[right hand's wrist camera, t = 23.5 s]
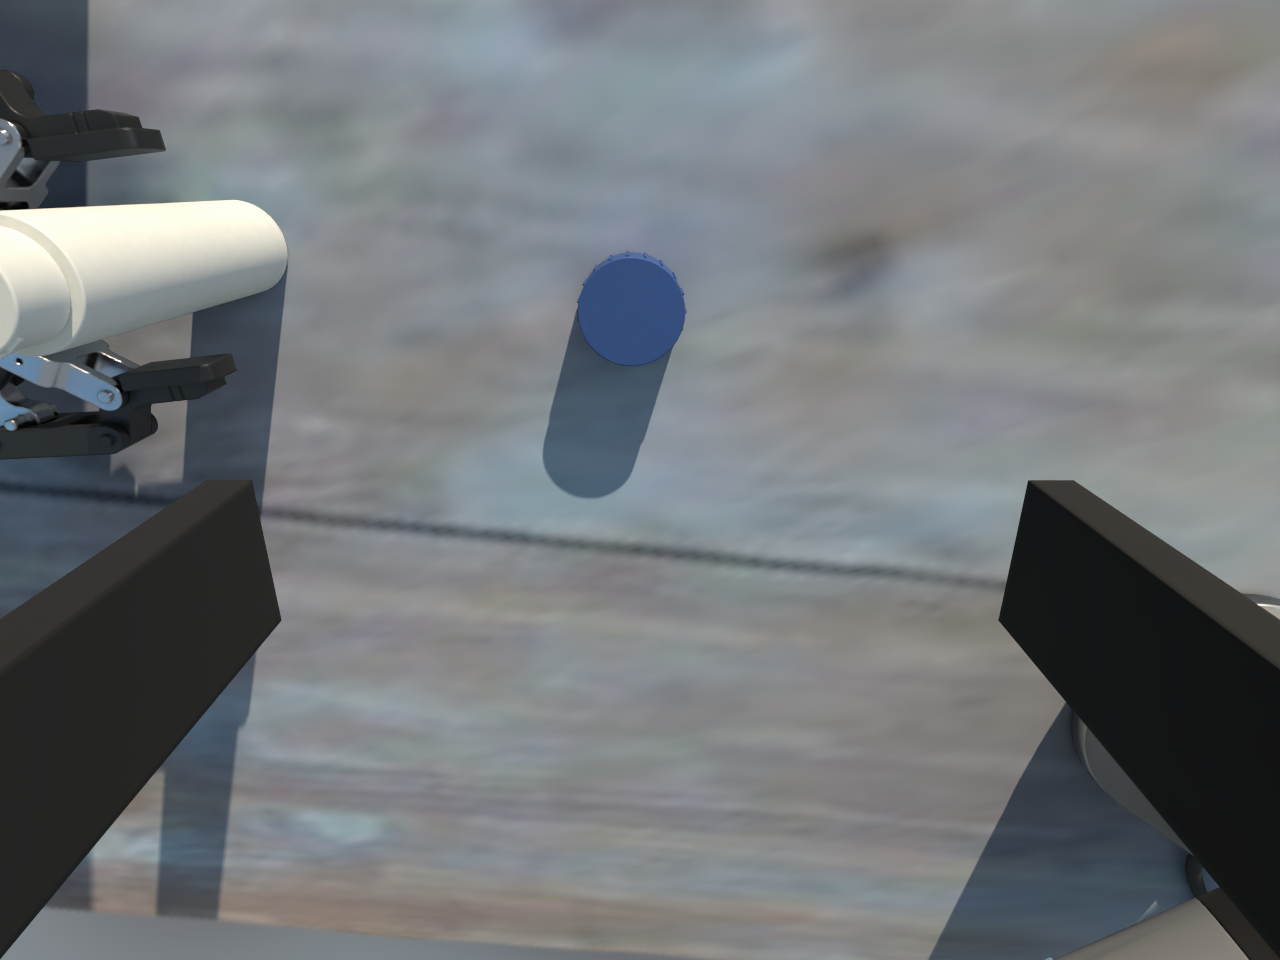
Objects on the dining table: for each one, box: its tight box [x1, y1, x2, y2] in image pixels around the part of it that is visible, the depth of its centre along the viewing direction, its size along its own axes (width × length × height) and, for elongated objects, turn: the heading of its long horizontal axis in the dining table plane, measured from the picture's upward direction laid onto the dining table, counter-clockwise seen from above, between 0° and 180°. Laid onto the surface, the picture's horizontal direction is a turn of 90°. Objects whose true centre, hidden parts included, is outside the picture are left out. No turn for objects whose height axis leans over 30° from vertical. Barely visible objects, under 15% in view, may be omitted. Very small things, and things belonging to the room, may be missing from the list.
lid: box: [577, 251, 686, 366], centre depth 34 cm, size 5×5×2 cm
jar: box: [0, 200, 288, 359], centre depth 27 cm, size 4×4×16 cm
